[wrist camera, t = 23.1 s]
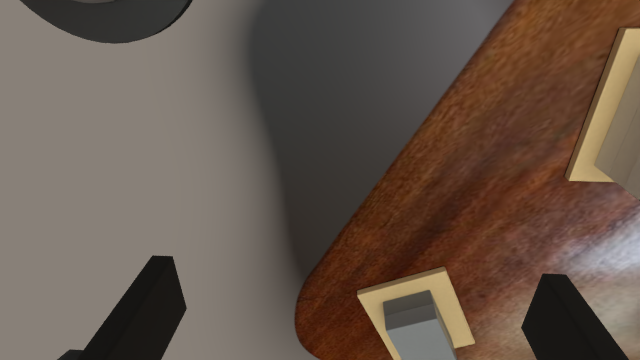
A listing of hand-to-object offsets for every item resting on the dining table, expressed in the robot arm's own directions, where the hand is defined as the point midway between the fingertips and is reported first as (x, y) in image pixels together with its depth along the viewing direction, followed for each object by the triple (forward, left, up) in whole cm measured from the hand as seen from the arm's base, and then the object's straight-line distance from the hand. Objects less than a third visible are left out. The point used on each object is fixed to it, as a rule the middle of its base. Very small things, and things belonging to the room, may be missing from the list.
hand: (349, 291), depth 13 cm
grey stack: (+36, +2, -29) cm, 46 cm away
